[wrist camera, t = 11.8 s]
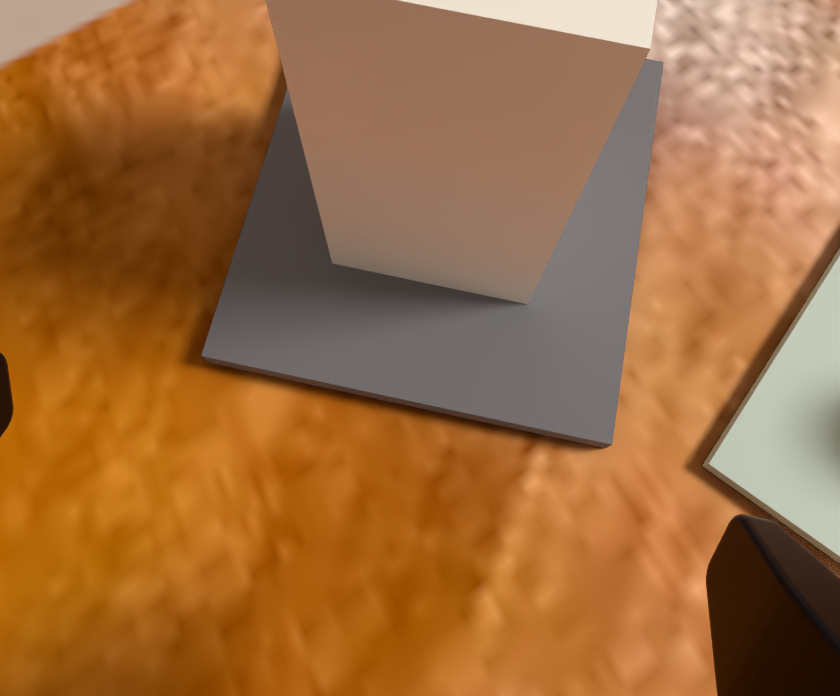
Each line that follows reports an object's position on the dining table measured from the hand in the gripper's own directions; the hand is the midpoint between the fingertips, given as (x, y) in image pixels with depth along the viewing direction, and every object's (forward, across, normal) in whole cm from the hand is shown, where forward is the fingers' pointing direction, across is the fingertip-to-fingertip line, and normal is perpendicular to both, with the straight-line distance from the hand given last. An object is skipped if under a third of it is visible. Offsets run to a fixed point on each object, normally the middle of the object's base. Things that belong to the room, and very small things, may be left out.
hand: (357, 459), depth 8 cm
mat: (+12, 0, 0) cm, 12 cm away
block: (+11, 0, 0) cm, 11 cm away
